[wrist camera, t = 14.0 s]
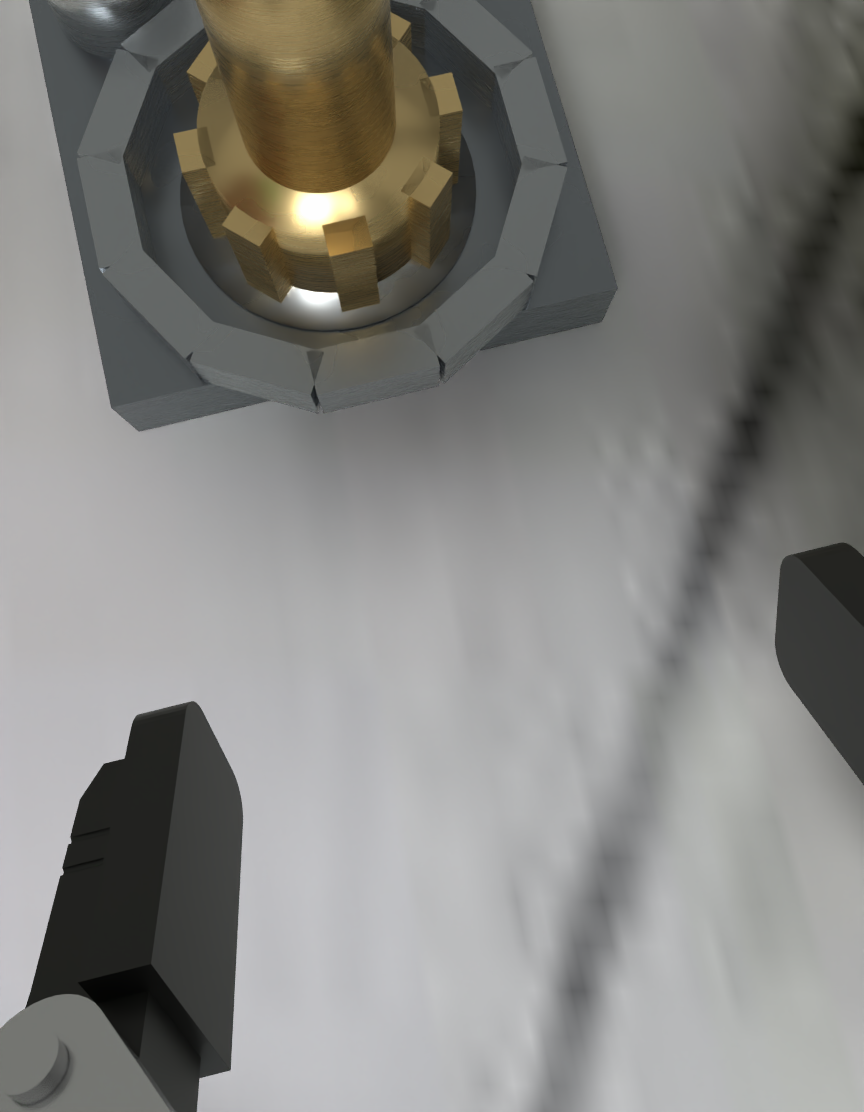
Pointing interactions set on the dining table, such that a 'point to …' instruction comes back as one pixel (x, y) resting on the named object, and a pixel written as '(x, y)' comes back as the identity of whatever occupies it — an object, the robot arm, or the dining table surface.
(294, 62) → the gear
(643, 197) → the dining table surface
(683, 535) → the dining table surface
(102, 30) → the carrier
